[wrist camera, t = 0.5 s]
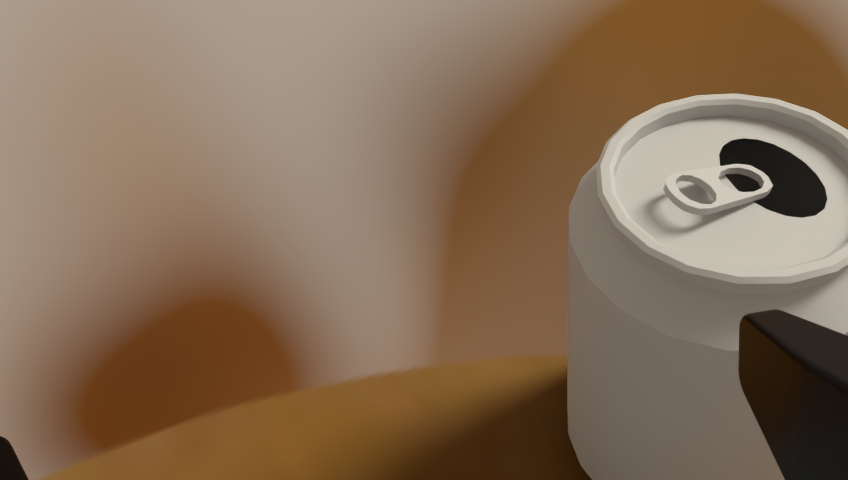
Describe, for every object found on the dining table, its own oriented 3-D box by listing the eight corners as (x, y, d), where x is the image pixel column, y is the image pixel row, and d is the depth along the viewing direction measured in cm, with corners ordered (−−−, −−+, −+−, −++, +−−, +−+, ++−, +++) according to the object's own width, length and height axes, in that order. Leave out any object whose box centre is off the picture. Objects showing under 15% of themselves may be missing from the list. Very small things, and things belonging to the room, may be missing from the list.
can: (854, 485, 24) (1022, 216, 15) (643, 586, 23) (693, 357, 14) (707, 314, 29) (770, 38, 20) (529, 389, 28) (513, 130, 19)
